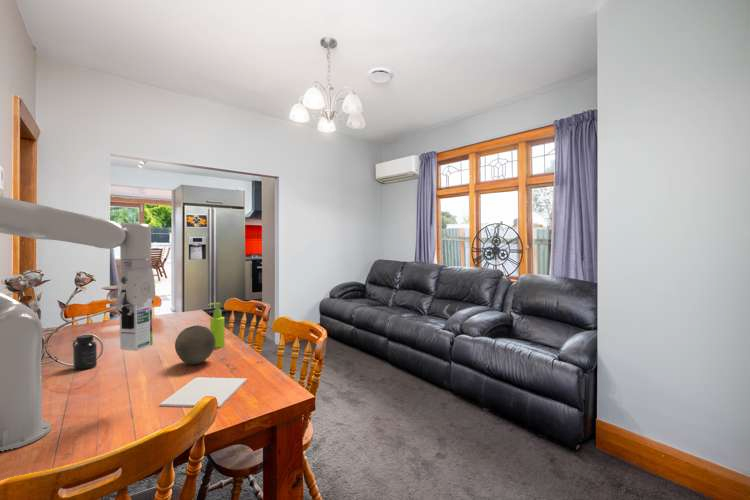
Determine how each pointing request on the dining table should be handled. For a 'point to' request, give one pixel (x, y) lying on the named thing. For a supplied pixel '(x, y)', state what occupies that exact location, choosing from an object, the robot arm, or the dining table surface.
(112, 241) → the robot arm
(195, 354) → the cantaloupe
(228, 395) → the mat
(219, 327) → the soap dispenser
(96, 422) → the dining table surface
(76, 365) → the supplement bottle
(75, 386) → the dining table surface
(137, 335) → the syrup box
